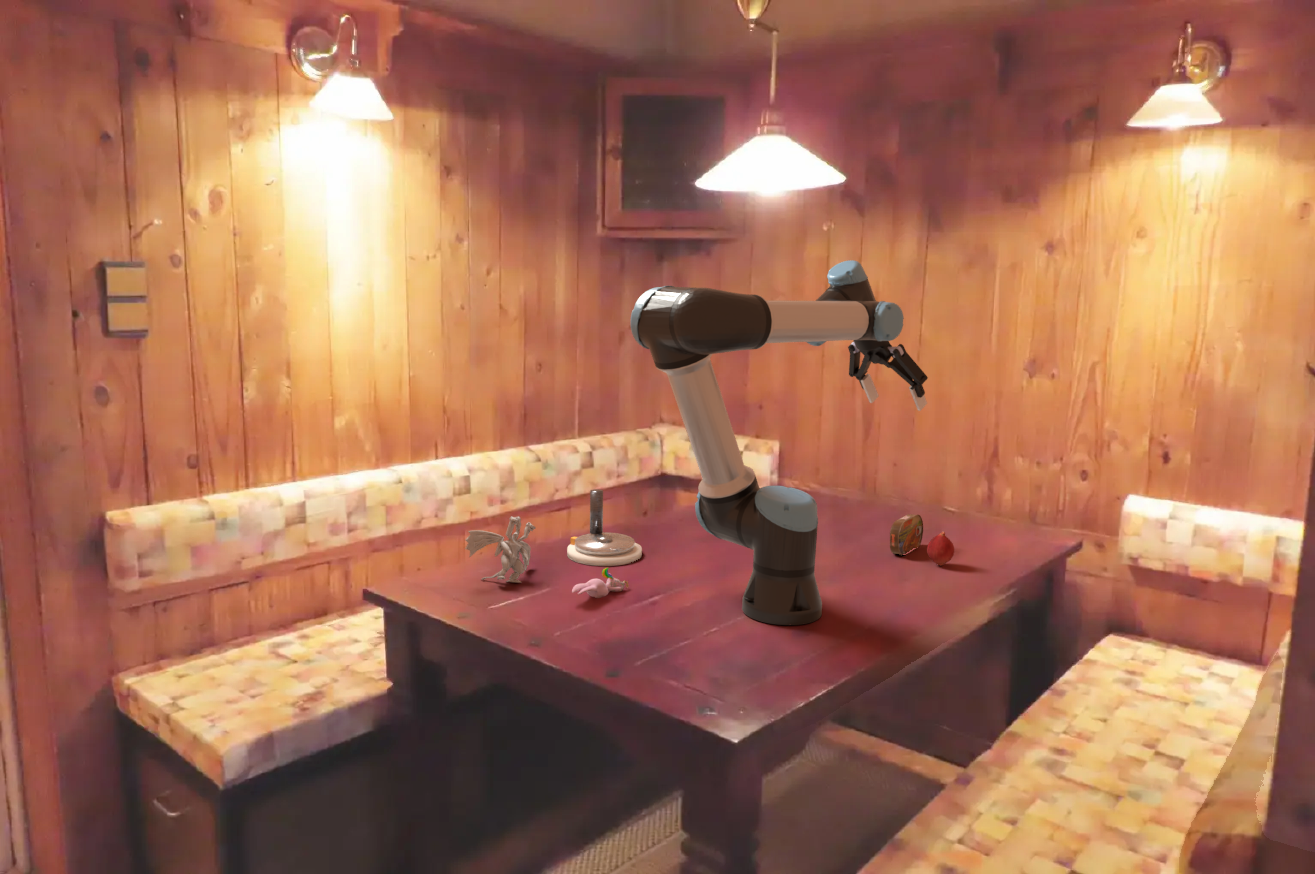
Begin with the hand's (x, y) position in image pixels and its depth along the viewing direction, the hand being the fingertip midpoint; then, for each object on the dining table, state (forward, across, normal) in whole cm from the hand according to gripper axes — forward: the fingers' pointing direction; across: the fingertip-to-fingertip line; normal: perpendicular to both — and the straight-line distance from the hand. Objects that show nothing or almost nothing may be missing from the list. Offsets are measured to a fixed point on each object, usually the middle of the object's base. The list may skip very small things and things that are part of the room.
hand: (897, 403), depth 208 cm
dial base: (-3, +36, +66) cm, 75 cm away
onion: (+31, -13, +18) cm, 38 cm away
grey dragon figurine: (-18, +32, +88) cm, 95 cm away
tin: (+32, -1, +16) cm, 36 cm away
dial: (-4, +36, +65) cm, 75 cm away
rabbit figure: (-12, +13, +80) cm, 82 cm away
